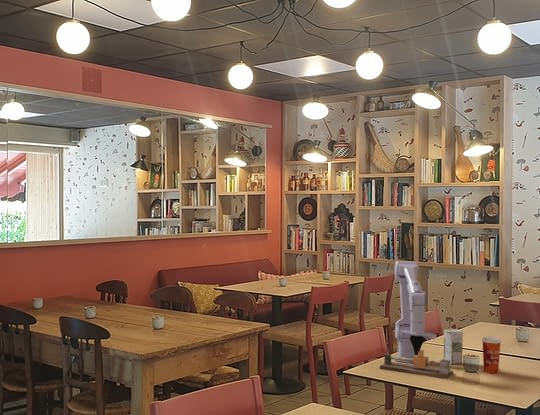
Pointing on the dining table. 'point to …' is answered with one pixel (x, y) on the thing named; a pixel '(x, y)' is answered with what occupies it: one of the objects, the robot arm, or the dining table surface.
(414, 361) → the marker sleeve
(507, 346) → the dining table surface
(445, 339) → the syrup box
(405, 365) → the grey slider rail
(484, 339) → the paper cup
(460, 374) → the dining table surface
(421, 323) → the robot arm
